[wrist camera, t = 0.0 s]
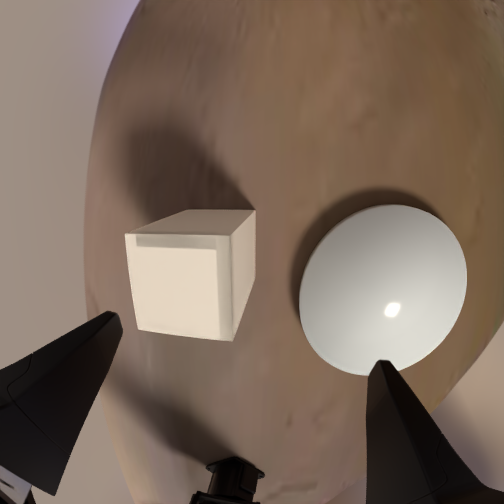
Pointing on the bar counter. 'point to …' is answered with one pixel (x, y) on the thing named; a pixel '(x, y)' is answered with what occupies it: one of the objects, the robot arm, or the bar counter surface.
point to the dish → (382, 288)
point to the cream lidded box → (193, 272)
